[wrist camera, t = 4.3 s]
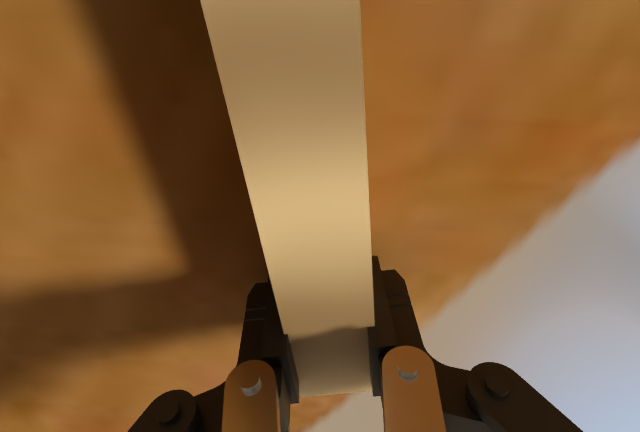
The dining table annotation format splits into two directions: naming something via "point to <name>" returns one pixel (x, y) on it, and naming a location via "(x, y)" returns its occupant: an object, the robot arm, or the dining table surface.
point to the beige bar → (305, 172)
